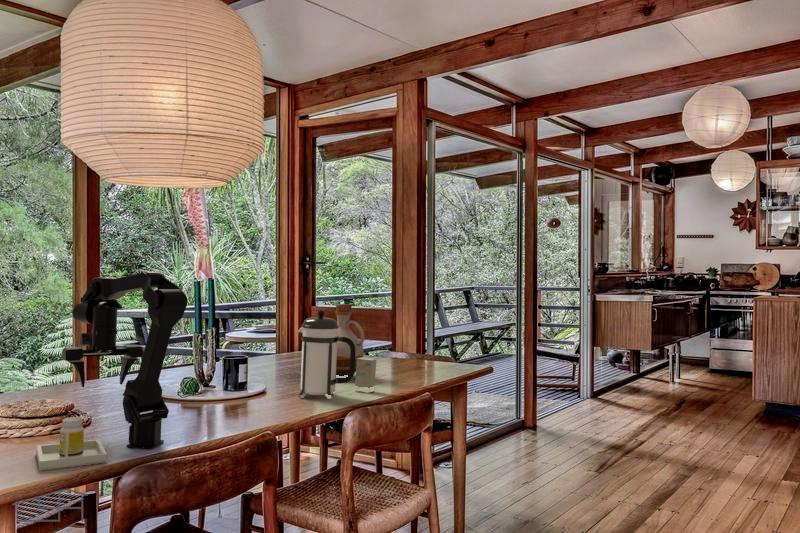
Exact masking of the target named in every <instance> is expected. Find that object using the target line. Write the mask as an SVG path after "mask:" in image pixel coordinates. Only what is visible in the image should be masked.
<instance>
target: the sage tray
mask: <svg viewBox="0 0 800 533" xmlns="http://www.w3.org/2000/svg"><path fill="white" fill-rule="evenodd" d="M59 449H60V442H58V443H50V444H49V443H47V444H38V445H36V451H35V456H36V460H37V466H38V471H39V472H43V471H51V470H58V469H68V467H69V468H76V466H77V467H83V465H86V466H92V465H91V464H94V465H99V464H98V463H103V464H108V463H107V462H108V457H107V456H108V453H107V452H106V450H105V447H104V445H103V443H102V442H101V439H99V438H98V439H88V440H83V455H82V456H75V457H66V458H60V457H59ZM66 467H67V468H66Z"/></svg>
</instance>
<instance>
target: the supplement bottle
mask: <svg viewBox="0 0 800 533" xmlns="http://www.w3.org/2000/svg"><path fill="white" fill-rule="evenodd" d="M61 420H62V421H61V422H62V423H61V426H62V427H61V428H60V430H59V443H60V449H59V457H60V458H66V457H75V456H82V455H83V441H84V436H85V435H84V434H85V432H84V430H85V429H84V426H82V425H83V418H82V417H81V416H80V417H79V416H70V417H64V418H63V419H61Z"/></svg>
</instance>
